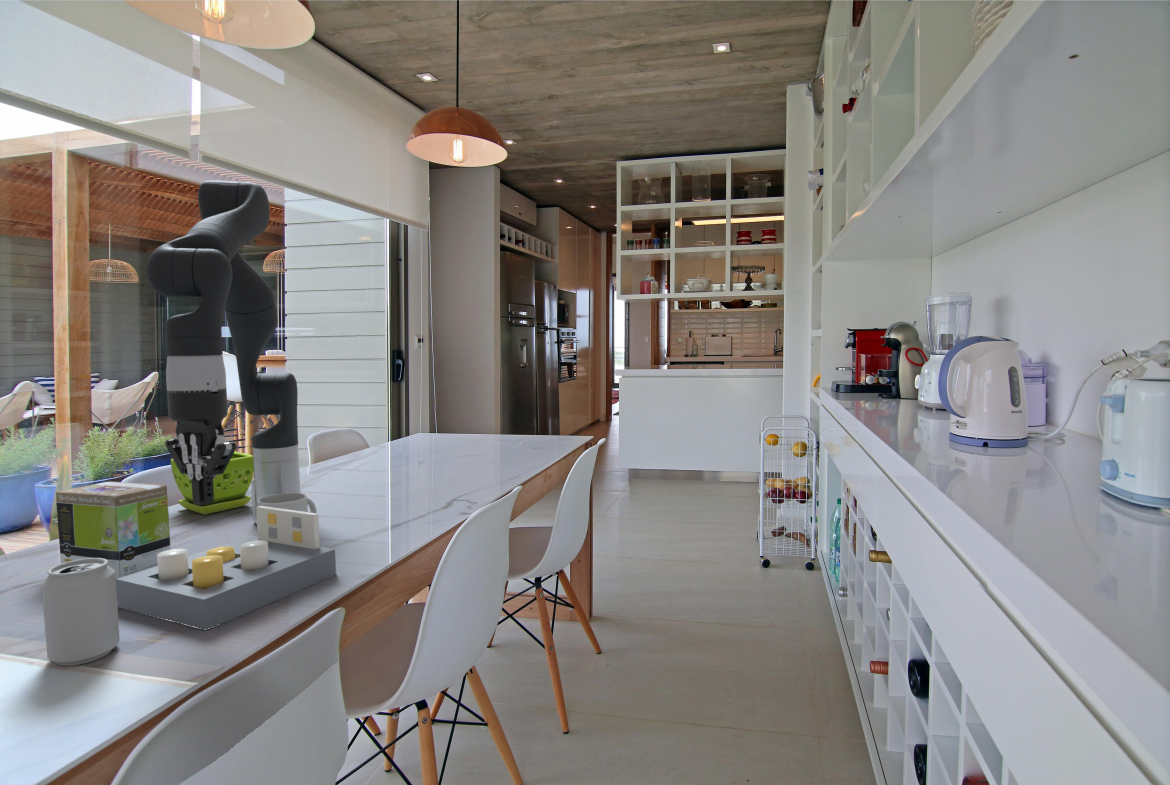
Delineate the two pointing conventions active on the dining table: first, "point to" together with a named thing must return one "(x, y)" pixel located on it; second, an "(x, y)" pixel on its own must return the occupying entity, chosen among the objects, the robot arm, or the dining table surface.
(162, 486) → the tea box
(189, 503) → the flower pot
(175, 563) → the cream button
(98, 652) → the can
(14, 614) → the dining table surface
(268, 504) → the mug
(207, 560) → the amber button
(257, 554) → the cream button
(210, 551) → the amber button
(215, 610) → the console
